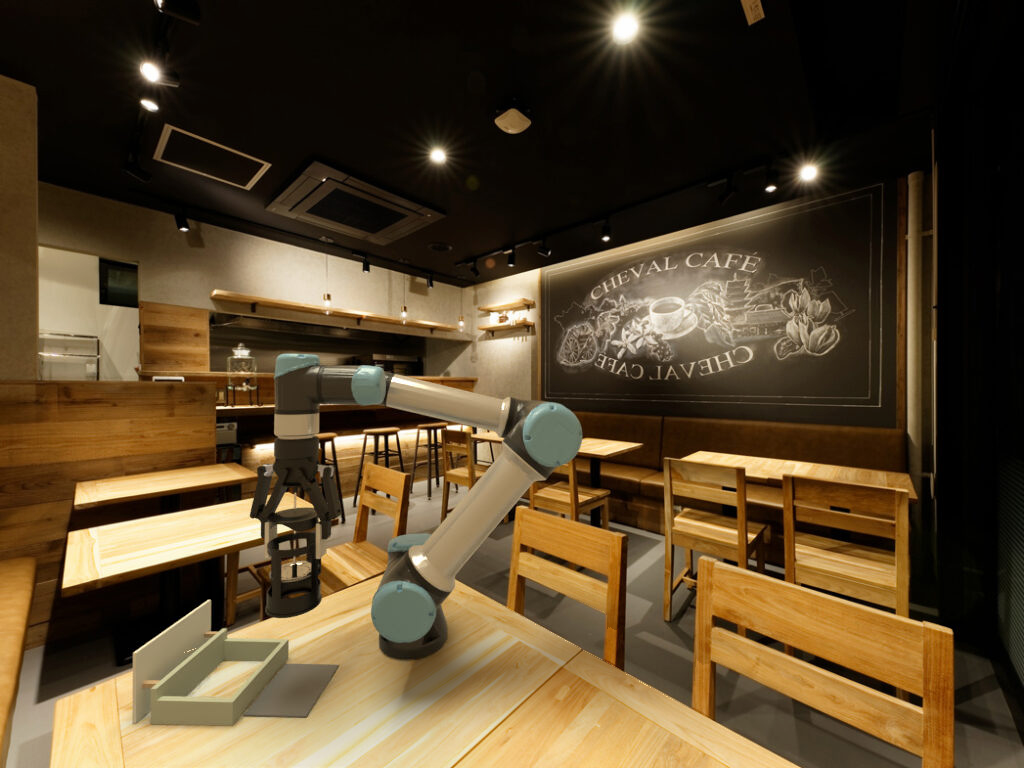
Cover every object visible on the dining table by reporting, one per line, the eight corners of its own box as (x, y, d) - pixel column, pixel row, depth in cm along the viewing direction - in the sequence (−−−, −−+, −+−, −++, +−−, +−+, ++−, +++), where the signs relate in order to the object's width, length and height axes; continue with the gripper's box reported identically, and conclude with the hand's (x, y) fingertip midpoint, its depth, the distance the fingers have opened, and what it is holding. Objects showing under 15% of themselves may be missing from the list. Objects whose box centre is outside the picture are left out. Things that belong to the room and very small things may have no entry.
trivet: (338, 666, 84) (338, 664, 84) (306, 717, 71) (306, 716, 71) (285, 664, 84) (285, 663, 84) (243, 716, 71) (243, 714, 71)
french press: (295, 623, 71) (296, 490, 71) (249, 616, 73) (250, 487, 73) (337, 590, 83) (338, 475, 82) (297, 584, 85) (298, 473, 84)
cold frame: (288, 658, 86) (288, 601, 86) (232, 725, 70) (233, 655, 69) (207, 656, 87) (208, 599, 87) (132, 723, 70) (132, 652, 70)
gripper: (361, 434, 81) (360, 548, 81) (253, 432, 82) (252, 546, 82) (345, 439, 74) (344, 565, 74) (226, 437, 74) (225, 563, 74)
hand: (296, 555), depth 78 cm, fingers closed on french press, 9 cm apart
